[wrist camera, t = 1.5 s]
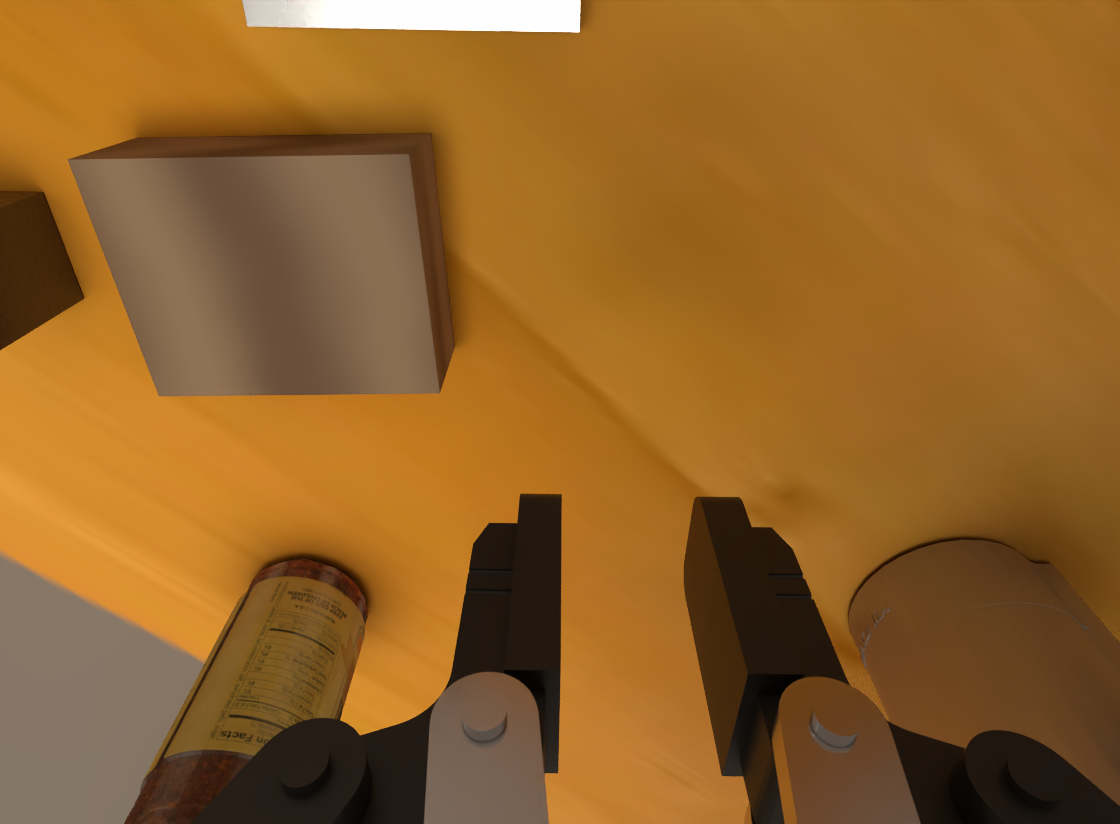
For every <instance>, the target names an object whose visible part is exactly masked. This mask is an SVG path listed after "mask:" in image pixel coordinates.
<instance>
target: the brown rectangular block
mask: <svg viewBox="0 0 1120 824" xmlns="http://www.w3.org/2000/svg"><path fill="white" fill-rule="evenodd" d="M68 162H69V164H70V167H71V170H72V172H73V175H74V177H75V180H76V182H77V185H78V188H79V190H80V193H81V195H82V198H83V201H84V203H85V206H86V208H87V211H88V214H89V216H90V219H91V221H92V224H93V226H94V229H95V232H96V234H97V237H98V239H99V242H100V245H101V247H102V250H103V252H104V255H105V258H106V260H107V263H108V265H109V268H110V270H111V273H112V276H113V278H114V281H115V283H116V286H117V289H118V291H119V294H120V296H121V299H122V302H123V304H124V307H125V309H126V312H127V314H128V317H129V320H130V322H131V325H132V327H133V330H134V333H135V335H136V338H137V340H138V343H139V346H140V348H141V351H142V353H143V356H144V358H145V361H146V364H147V366H148V369H149V371H150V374H151V377H152V379H153V382H154V384H155V387H156V390H157V392H158V395H159V396H231V395H326V394H420V393H440V391H441V388H442V385H443V382H444V379H445V376H446V372H447V369H448V366H449V363H450V360H451V357H452V354H453V351H454V348H455V346H454V337H453V328H452V319H451V310H450V300H449V291H448V282H447V273H446V264H445V255H444V246H443V237H442V228H441V219H440V210H439V201H438V192H437V183H436V174H435V165H434V156H433V147H432V138H431V133H403V134H342V135H281V136H220V137H159V138H135V139H132V140H129V141H125V142H122V143H119V144H116V145H113V146H109V147H106V148H103V149H100V150H97V151H94V152H90V153H87V154H84V155H81V156H78V157H74V158H71V159H68Z"/></svg>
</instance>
